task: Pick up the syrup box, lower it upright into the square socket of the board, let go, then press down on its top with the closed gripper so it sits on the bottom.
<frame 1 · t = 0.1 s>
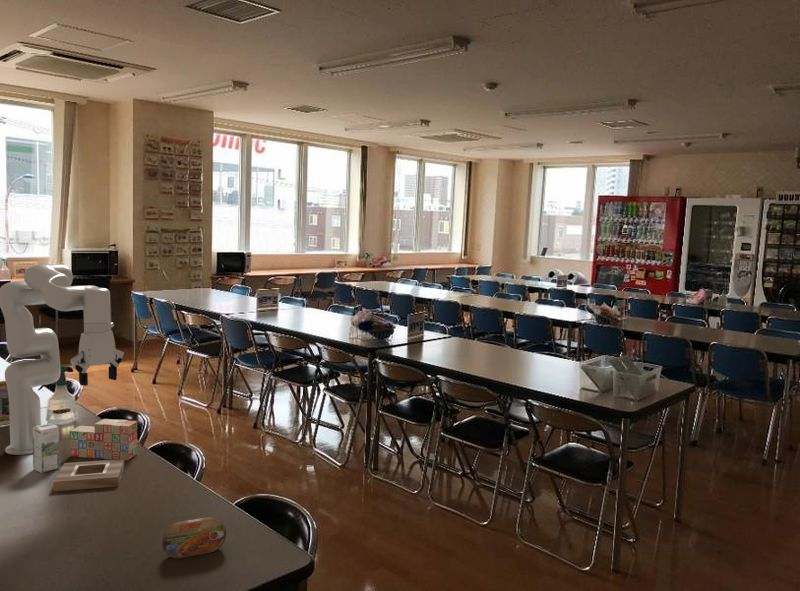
hand: (98, 382, 203), 31 cm above the table, tool pointing down, fingers open, 9 cm apart
stack of blocks: (104, 456, 227), on the table
socket board: (90, 479, 205), on the table
syrup box: (46, 469, 212), on the table
tin: (194, 553, 161), on the table
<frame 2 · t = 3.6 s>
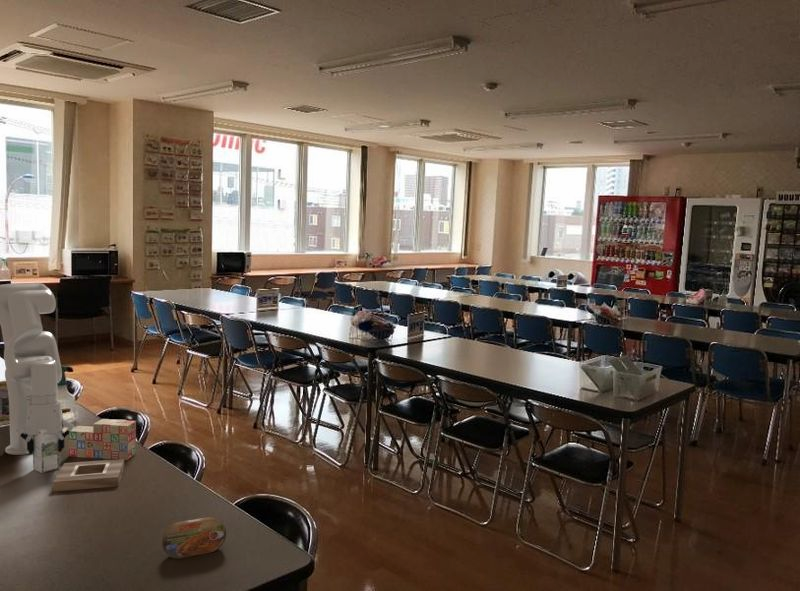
hand: (46, 451, 212), 6 cm above the table, tool pointing down, fingers closed on syrup box, 8 cm apart
syrup box: (46, 469, 212), on the table, touching gripper
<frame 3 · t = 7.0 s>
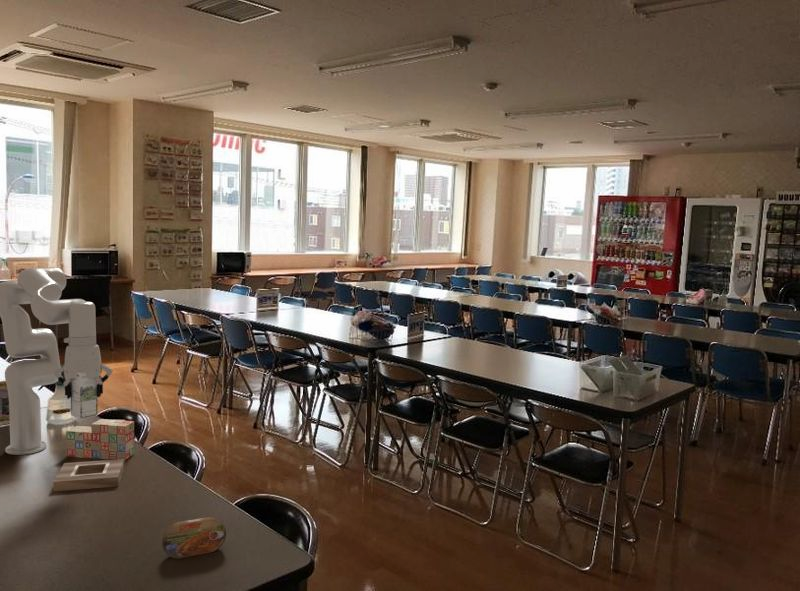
hand: (84, 396, 203), 26 cm above the table, tool pointing down, fingers closed on syrup box, 8 cm apart
syrup box: (84, 416, 204), point 20 cm above the table, touching gripper
when the fingers open (7 cm above the table, at t = 10.6 s): syrup box drops 1 cm, resting in socket board.
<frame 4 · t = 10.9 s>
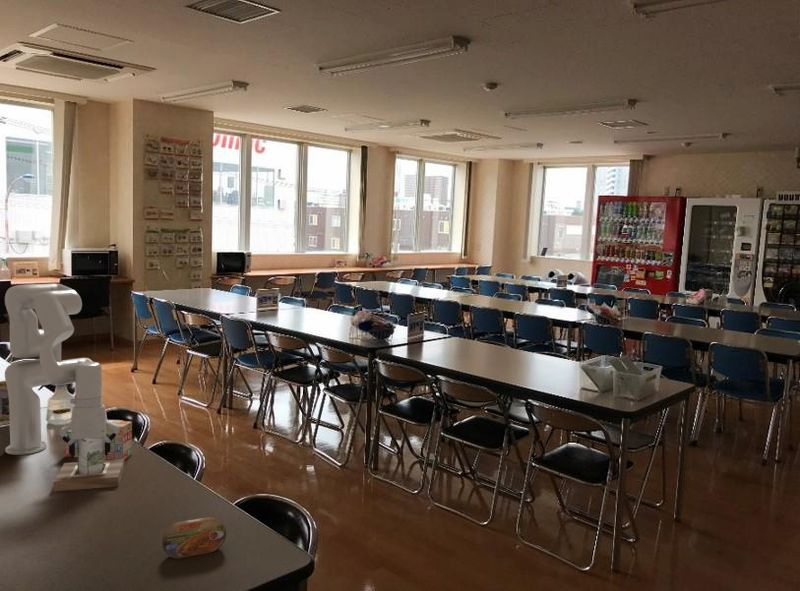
hand: (90, 455, 205), 8 cm above the table, tool pointing down, fingers open, 9 cm apart
syrup box: (91, 479, 205), resting in socket board
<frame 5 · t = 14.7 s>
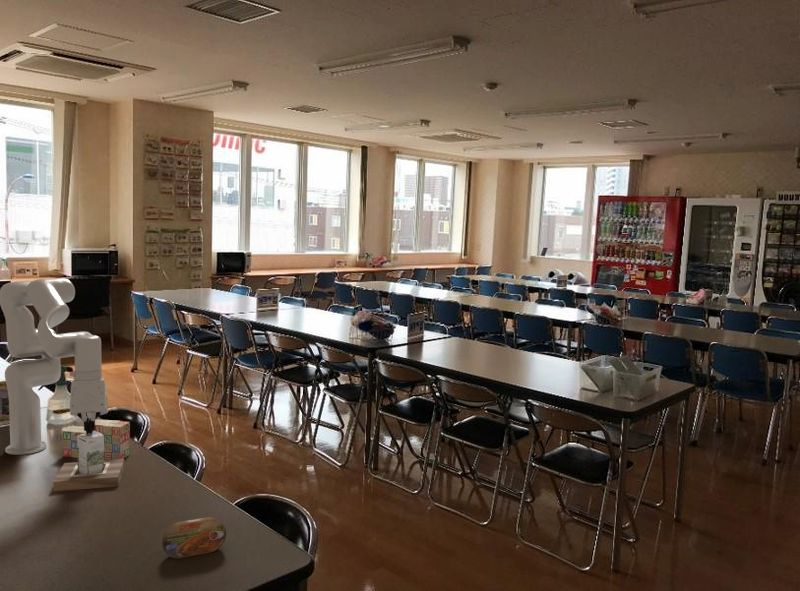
hand: (89, 432, 204), 15 cm above the table, tool pointing down, fingers closed
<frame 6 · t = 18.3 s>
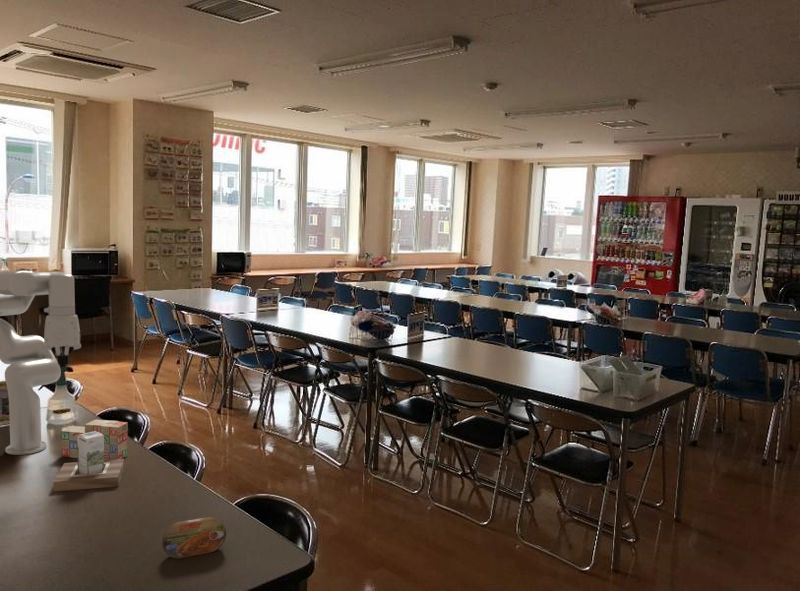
hand: (63, 366, 214), 33 cm above the table, tool pointing down, fingers closed
at the end: syrup box 0.2 cm off-centre on the socket board, point 0.0 cm above the socket board's base; syrup box tilted 0°; the gripper is holding nothing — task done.
